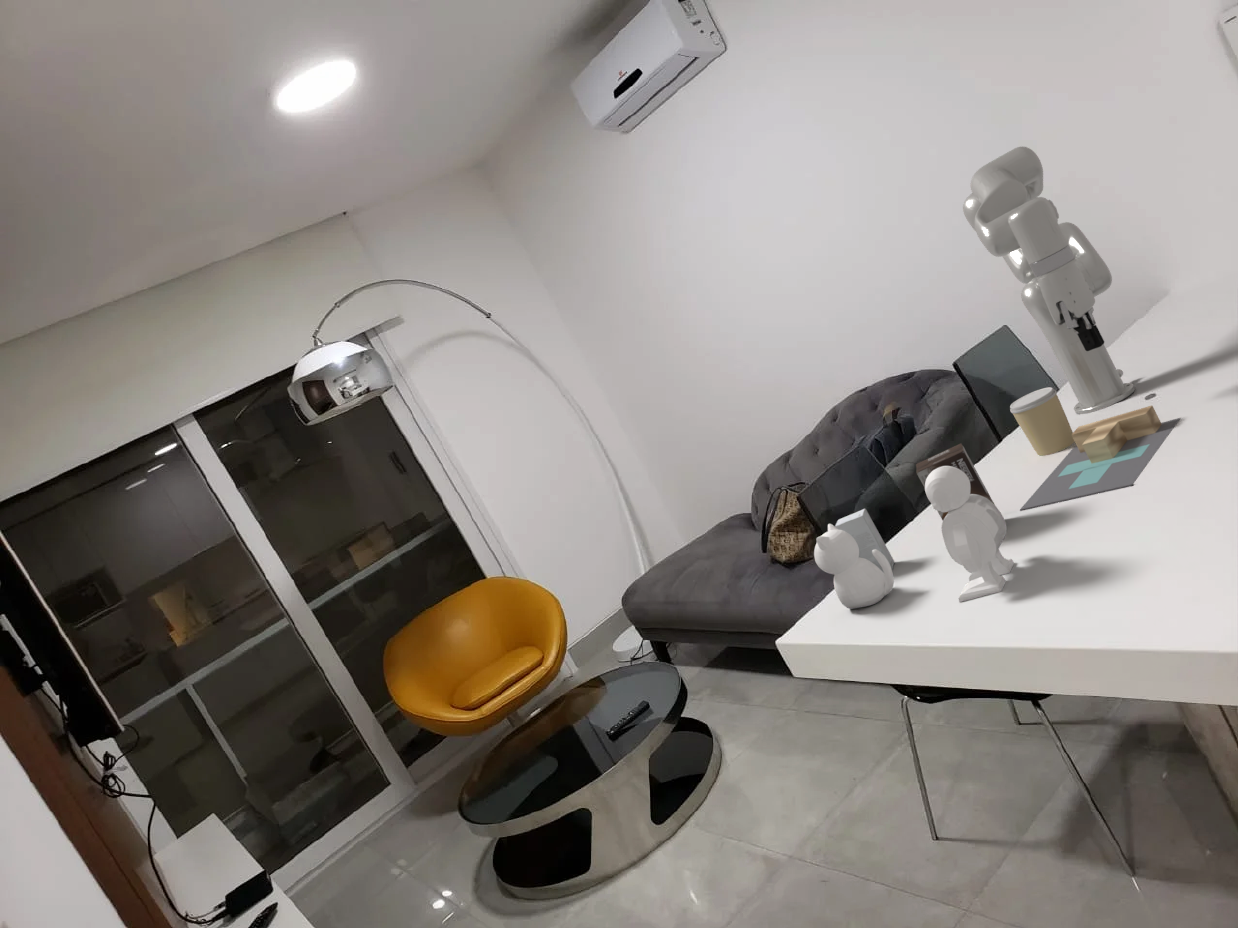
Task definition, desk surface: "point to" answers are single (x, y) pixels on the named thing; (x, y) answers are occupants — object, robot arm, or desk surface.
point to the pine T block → (1114, 433)
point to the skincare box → (865, 536)
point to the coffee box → (958, 460)
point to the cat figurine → (852, 569)
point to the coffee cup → (1043, 421)
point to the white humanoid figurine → (970, 531)
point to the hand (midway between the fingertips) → (1095, 347)
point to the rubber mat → (1112, 479)
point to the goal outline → (1098, 467)
